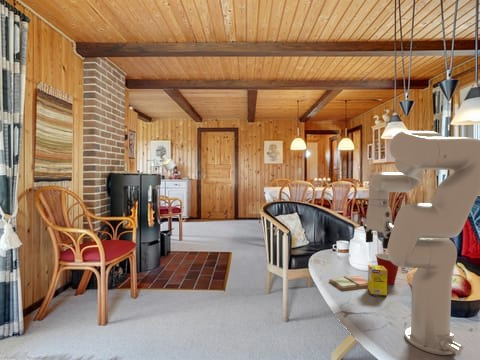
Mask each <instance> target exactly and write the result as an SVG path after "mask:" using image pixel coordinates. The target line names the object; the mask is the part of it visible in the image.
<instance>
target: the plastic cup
mask: <svg viewBox="0 0 480 360" xmlns="http://www.w3.org/2000/svg"><path fill="white" fill-rule="evenodd" d="M375 257H376V263H377V265H378V266H384V267H385V269H386V270H387V285H394V284H395V282H396V279H397V275H398V270H399V267H398V266H396V265H394V264H393V263H392V262H391V261H390V259H389V257H388V253H375Z"/></svg>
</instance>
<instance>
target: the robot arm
mask: <svg viewBox="0 0 480 360" xmlns="http://www.w3.org/2000/svg"><path fill="white" fill-rule="evenodd" d="M389 153H390V155H391V156H392V157H393V159H394V165H395V168H396V170H397V171H398V172H374V173H370V174H369V176H368V206H367V209H366V215H365V217H366V219H364V220H363V221H361V222H362V225H363V230H364V233H365V242H366V243H372V242H374V233H373V231H374V232H378V233H382V234H383V241H382V246H383V247H382V248H383V249H386V250H387V252H386V253H387V254H388V257H389V259H390V261H391V262H392V263H393V264H394V265H396V266H398V268H403V269H404V268H405V269H416V270H415V272H414V274H413V276H412V280H411V308H410V309H411V310H410V311H411V312H410V315H411V316H410V327H408V328H406V329H405V330H404V337H405V339H406V340H407V342H409V343H410V344H411V345H412V346H413V347H416V348H418V349H420V350H421V351H425V352H427V353H430V354H434V355H440V356H450V355H455V356H457V357H459V356H460V355H461V354H462V351H463V349H464V346H463V345H461V344H460V343H458V342H456V341H455V338H454V337H455V334H453V333H452V332H451V317H452V316H451V311H452V309H451V308H452V306H451V305H452V281H453V274H454V269H455V266H456V263H457V260H458V251H457V247H456V245H455V243H454V242H453V241H452V240H451V239H452V238H455V237H457V236H459V235H460V233H461V232H462V230H463V229H464V226H465V225H466V222H467V220H468V217H469V216H470V213H471V211H472V209H473V206H474V204H475V202H476V199H477V198H478V196H479V195H480V139H478V138H474V137H463V136H462V137H461V136H457V137H455V136H448V137H447V136H445V137H444V135H442V134H441V133H439V132H436V131H430V130H424V131H423V130H418V131H417V130H404V131H400V132H398V133H396V134H395V135H394V136H393V138H392V139H391V140H390V143H389ZM424 170H428V171H429V170H431V171H433V170H435V171H436V170H437V171H442V170H443V171H451V170H452V171H453V172H452V173H451V174H449V175H448V176H447V177H446V178H444V179H443V180H442V181H441V182H440V183H439V184H438V186H437V187H436V190H435V192H434V195H433V197H432V199H431V200H430V201H429V202H424V203H423V202H417V203H416V202H411V203H407V204H404V205H403V206H402V207H401V208H400V209H399V210H398V211H397V212H396V213H397V214H396V216H395V219H394V222H393V215H392V214H393V213H392V209H391V207H390V205H391V202H390V193H409V192H411V191H413V190H414V189H415V188H417V187H419V186H420V185H421V183H422V180H423V178H424Z"/></svg>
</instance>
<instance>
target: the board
mask: <svg viewBox="0 0 480 360" xmlns="http://www.w3.org/2000/svg"><path fill="white" fill-rule="evenodd" d="M328 282H329V283H330V284H332V285H334V286H335V287H336V288H337V289H339V290H341V291H343V292H344V291H352V290H361V289H368V279H366V278H364V277H362V276H359V275H356V276H346V275H343V277H339V278H338V277H337V278H331V279H330V278H329V280H328Z"/></svg>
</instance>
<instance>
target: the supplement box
mask: <svg viewBox="0 0 480 360" xmlns="http://www.w3.org/2000/svg"><path fill="white" fill-rule="evenodd" d="M367 266H368V267H367V268H368V269H367V280H368V288H367V291H368V292H369V294H370V296H371V297H379V298H380V297H382V298H383V297H384V298H387V296H388V294H387V293H388V284H387V270H386V269H385V267H384V266H378V264H377V265H375V264H368V265H367Z"/></svg>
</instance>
